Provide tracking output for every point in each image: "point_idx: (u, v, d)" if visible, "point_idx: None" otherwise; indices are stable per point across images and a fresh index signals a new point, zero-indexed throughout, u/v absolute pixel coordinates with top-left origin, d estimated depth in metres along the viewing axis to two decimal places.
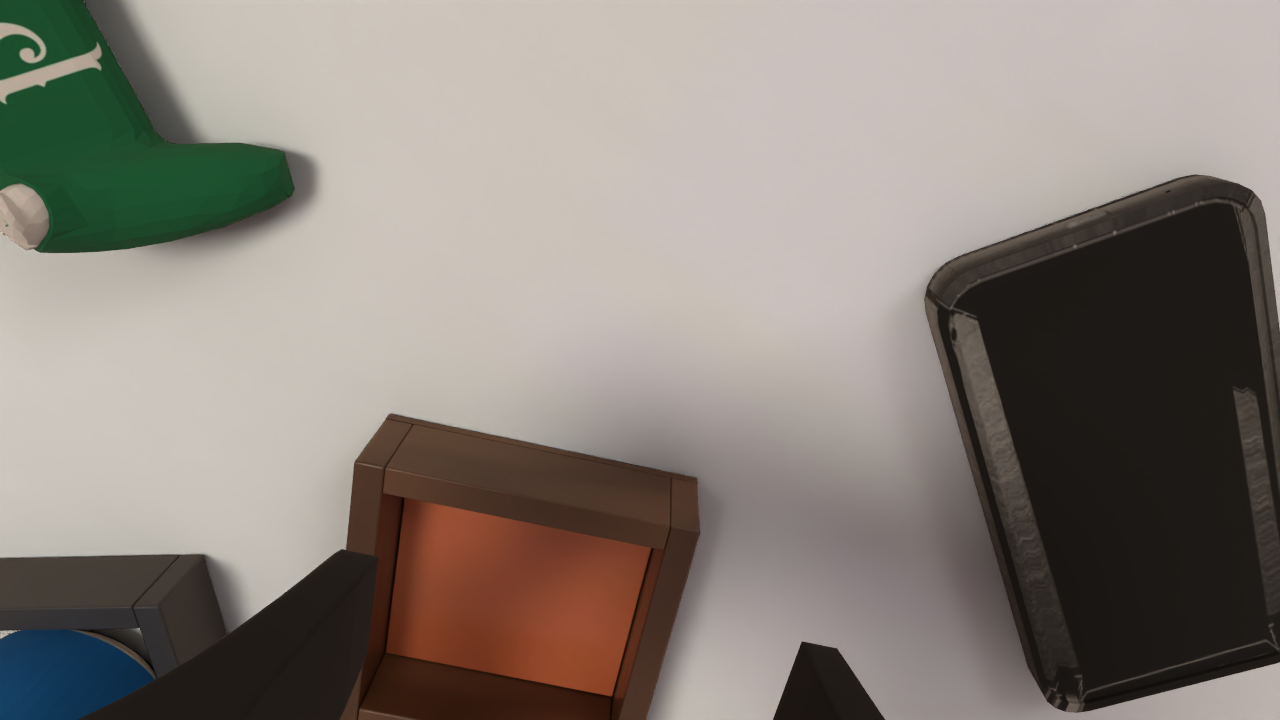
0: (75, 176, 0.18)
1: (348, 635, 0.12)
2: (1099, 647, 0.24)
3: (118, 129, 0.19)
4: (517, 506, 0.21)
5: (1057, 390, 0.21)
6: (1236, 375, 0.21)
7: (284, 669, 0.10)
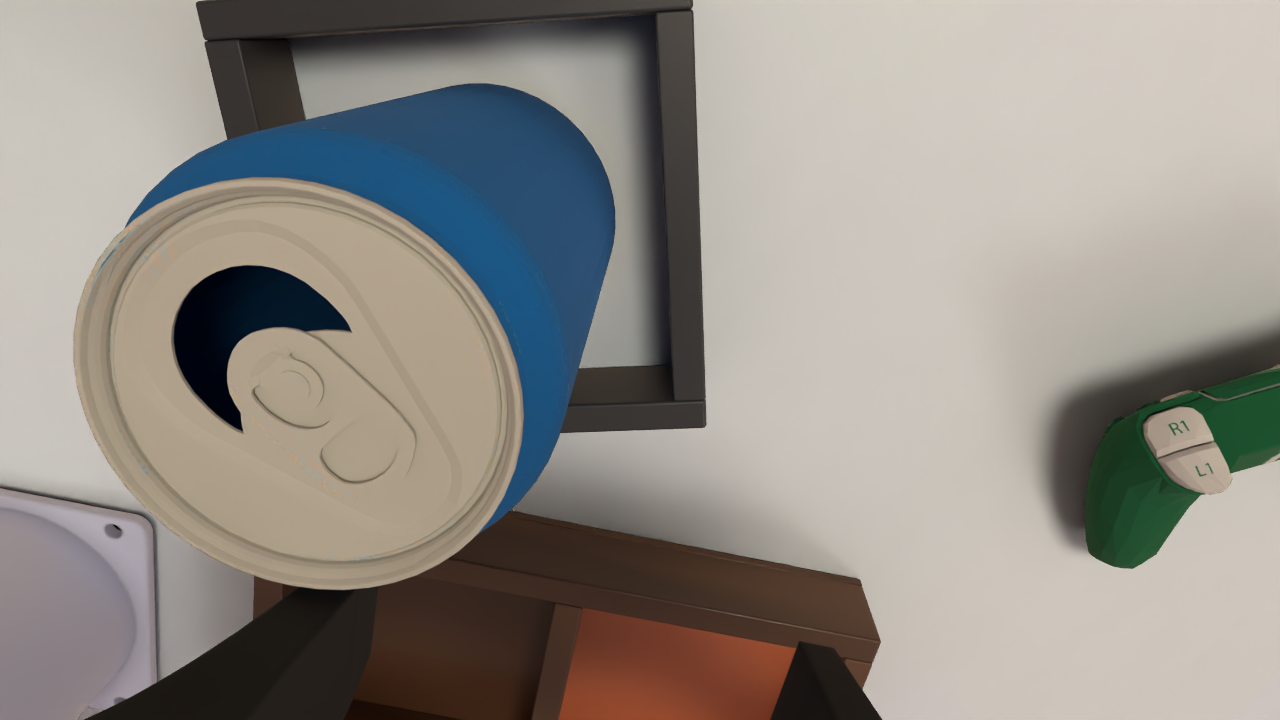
0: None
1: (352, 636, 0.12)
2: None
3: None
4: None
5: None
6: None
7: (289, 670, 0.10)
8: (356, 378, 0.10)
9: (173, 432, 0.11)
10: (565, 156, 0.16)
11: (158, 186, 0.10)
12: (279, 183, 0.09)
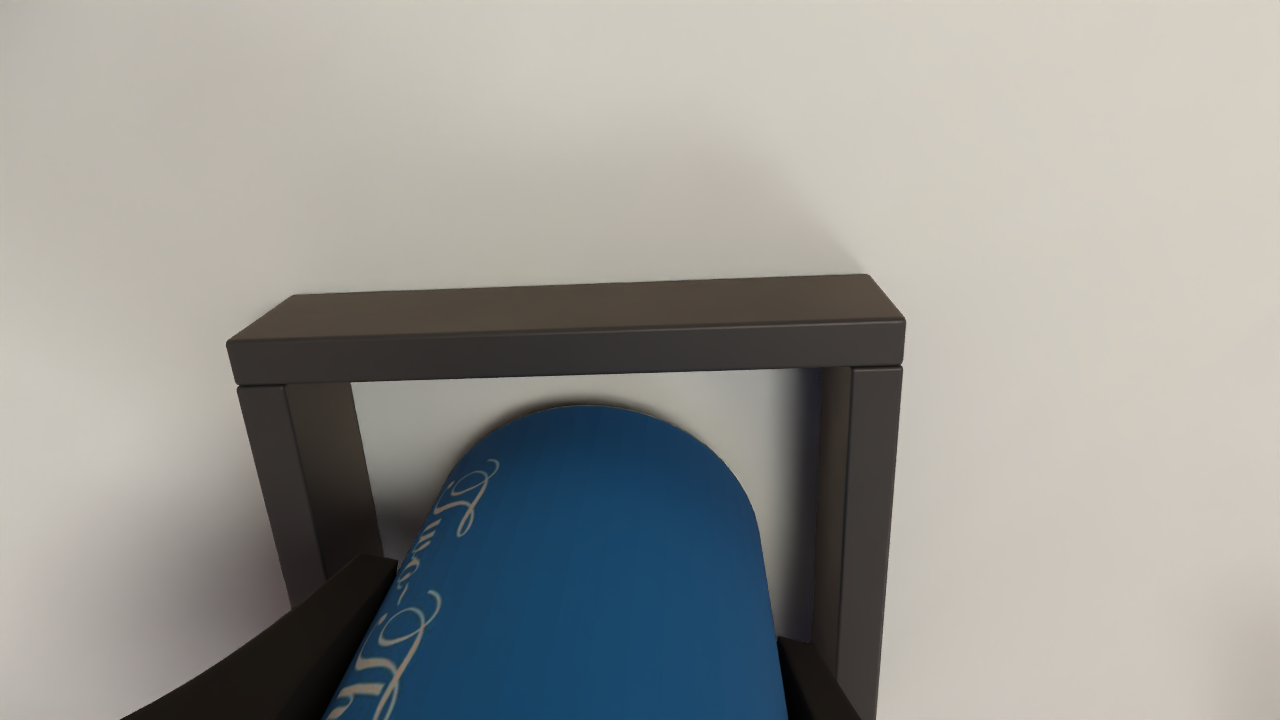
0: None
1: None
2: None
3: None
4: None
5: None
6: None
7: (310, 674, 0.10)
8: None
9: None
10: (739, 592, 0.12)
11: None
12: None
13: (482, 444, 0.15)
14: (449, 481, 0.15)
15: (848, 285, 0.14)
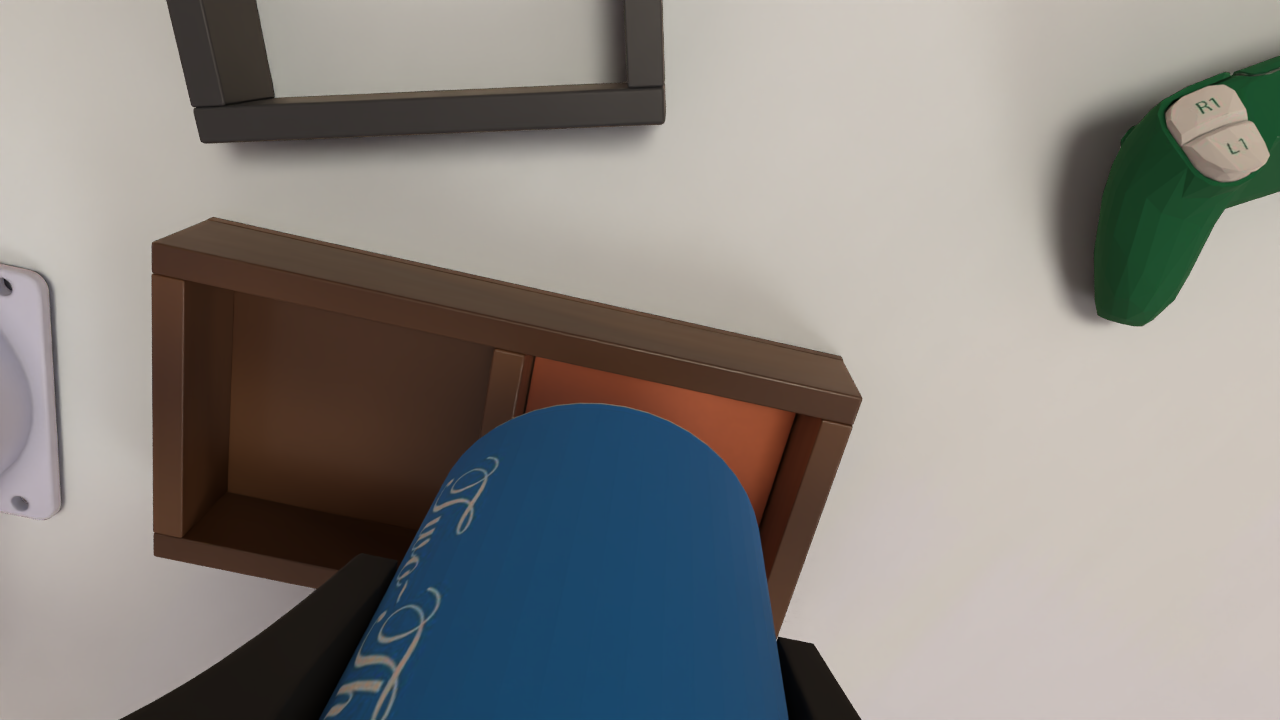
0: (1231, 195, 0.18)
1: None
2: None
3: (1231, 202, 0.19)
4: (799, 539, 0.22)
5: None
6: None
7: (309, 674, 0.10)
8: None
9: None
10: (739, 589, 0.12)
11: None
12: None
13: (481, 442, 0.15)
14: (448, 479, 0.15)
15: None
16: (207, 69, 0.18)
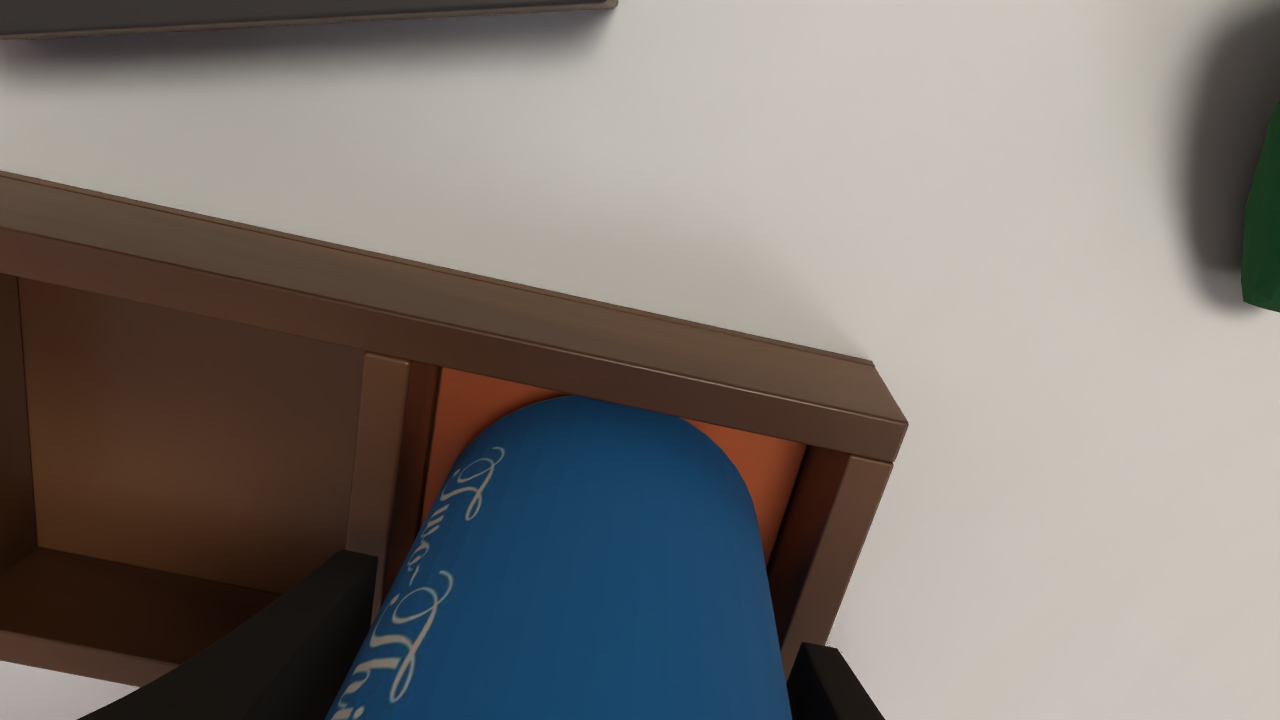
0: None
1: (348, 635, 0.12)
2: None
3: None
4: (814, 622, 0.15)
5: None
6: None
7: (284, 670, 0.10)
8: None
9: None
10: (740, 572, 0.12)
11: None
12: None
13: (486, 433, 0.15)
14: (454, 469, 0.15)
15: None
16: None
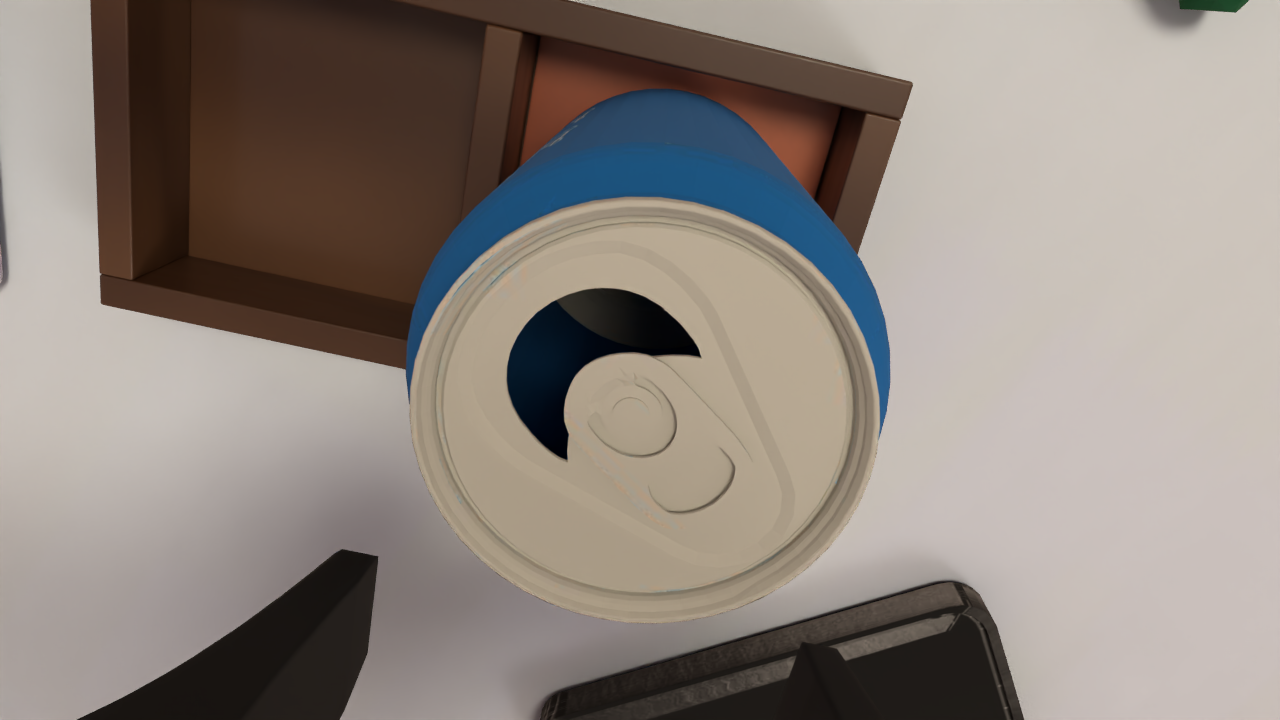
0: None
1: (348, 635, 0.12)
2: None
3: None
4: None
5: (874, 690, 0.26)
6: None
7: (284, 669, 0.10)
8: (699, 404, 0.10)
9: (496, 460, 0.10)
10: None
11: (491, 203, 0.10)
12: (654, 202, 0.09)
13: None
14: None
15: None
16: None
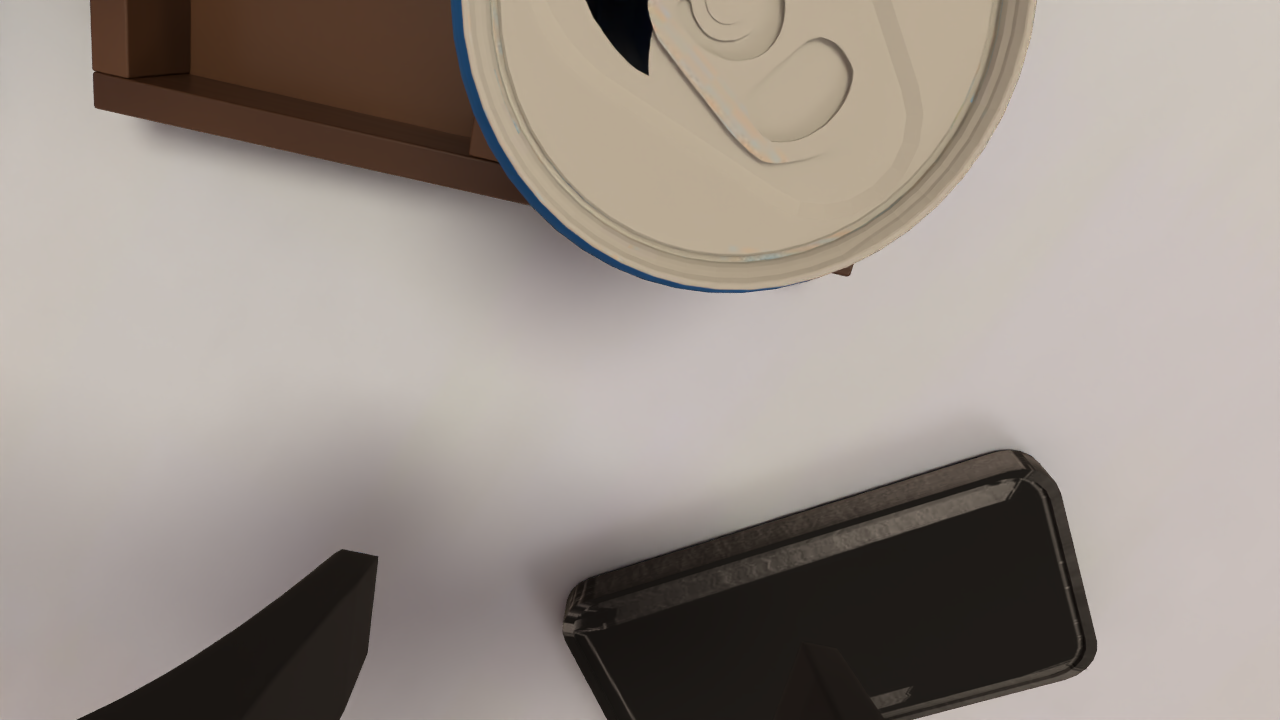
0: None
1: (348, 635, 0.12)
2: (640, 637, 0.25)
3: None
4: None
5: (926, 568, 0.24)
6: (922, 686, 0.25)
7: (284, 669, 0.10)
8: None
9: (561, 71, 0.08)
10: None
11: None
12: None
13: None
14: None
15: None
16: None
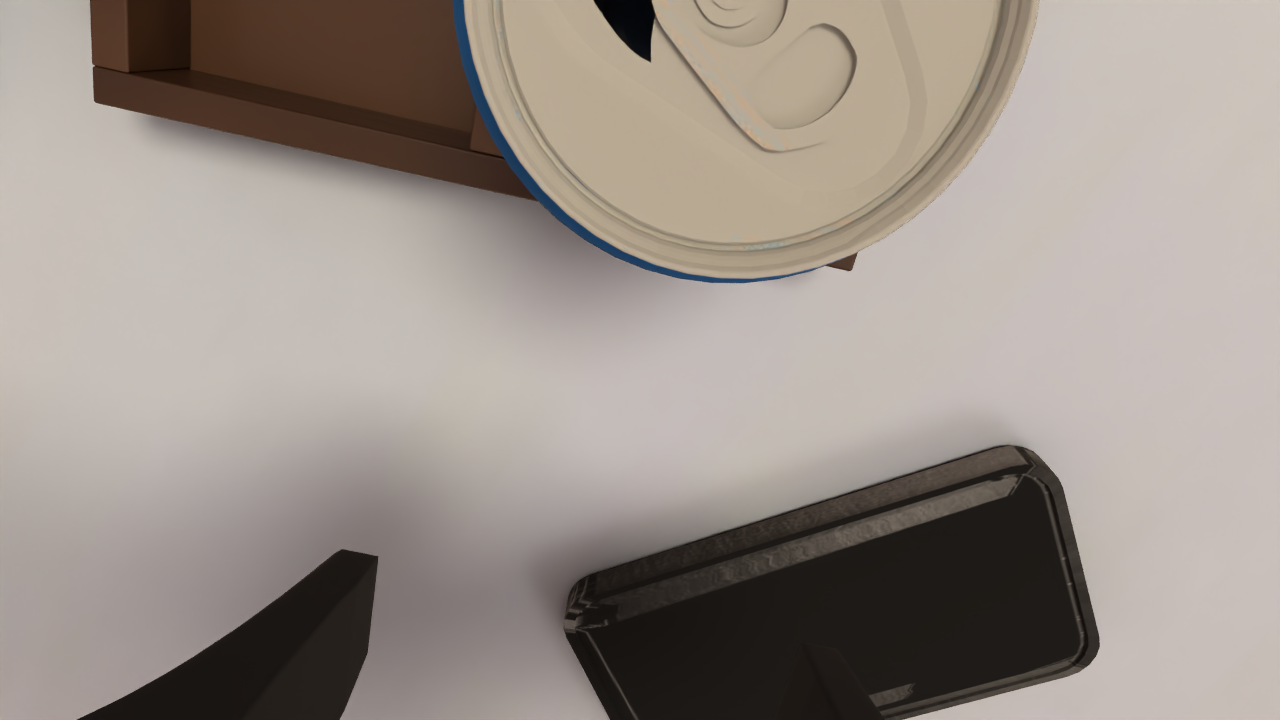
0: None
1: (348, 635, 0.12)
2: (642, 634, 0.25)
3: None
4: None
5: (928, 564, 0.24)
6: (925, 683, 0.25)
7: (284, 670, 0.10)
8: None
9: (563, 58, 0.08)
10: None
11: None
12: None
13: None
14: None
15: None
16: None
